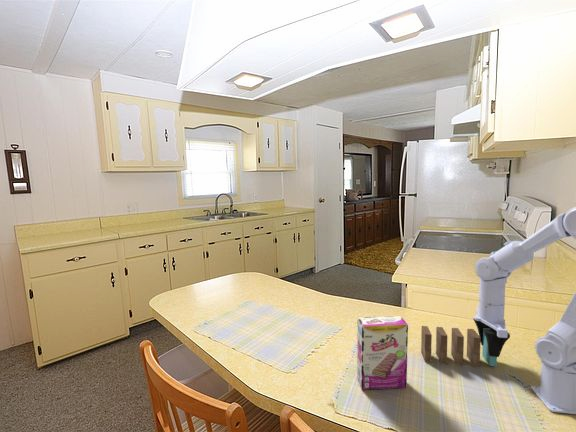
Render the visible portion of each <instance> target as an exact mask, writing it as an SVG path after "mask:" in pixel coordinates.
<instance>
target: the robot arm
mask: <svg viewBox="0 0 576 432" xmlns="http://www.w3.org/2000/svg"><path fill="white" fill-rule="evenodd" d="M567 237H568V238H569V237H572V238H573V239H575V240H576V206H575V207H572V208H570V209H569V210H568V211H567V212H563V213H561V214H559V215H557V216H556V217H555V218H554V219H552V221H550V222H548V223H547V224H546V225H545V224H544V226H543V227H541V228H540V229H538V230H537V231H536V232H534V233H533V234H531V235H529V236H528V237H527V238H525V239H524V240H523V241H520V240H509V241H506V242H504V243H503V245H504V246H503V247H501V248H500V249H498V250H497V251H492V252H490V253H489V254H490V256H488V257H480V258H479V259H477V261H476V262H475V264H474V271H475V273H476V275H477V277H478V278H479V285H478V286H479V288H478V289H479V290H478V291H479V292H478V306H476V314H475V315H473V321H474V324H475V326H476V328H477V330H478V331H477V333H478V335H479V336H480V338H481V342H480V346H483V332H484V334H485V336H486V339H487V344H488V352H489V355H490V356H492V357H497V358H499V357H500V355H501V352H502V350H503V347H504V345H505V344H506V342H508V340H509V339H510V337H511V334H510V332H509V331H508V329H507V327H506V320H505V303H506V302H505V301H506V284H507V281H508V278H509V277H510V276H511V275H512V273H513V272H514V271H515V270H518V269H519V268H521V267H523V266H525V265H526V264H529V263H530V262H532V261H533V260H534V253H536V252H538V251H540V250H542V249H544V248H546V247H548V246H550V245H552V244H554V243H556V242H558V241H559V240H562V239H564V238H567ZM483 328H490V329H483ZM534 348H535V352H536V354H537V357H538V358H539V359H540V363H541V367H540V368H541V369H540V383H539V384H540V385H539V386H535V385H532V386H530V389H531V390H532V391H533V393H535V395H536V397H538V399H540V401H541V402H542V403H543V404H544V405H545V407H547V409H548V410H549V411H550V412H552V413H553V412H554V413H563V414H571V415H576V291H575V292H574V293H573V295H572V297H571V298H570V301H569V302H568V305H567V307H566V308H565V311H564V312H563V313H562V315H561V317H560V319H559V321H558V322H557V323H555V324H554V325H552V326H551V327H550V328H549V329H548V331H547V333H546V334H545V335H544V336H541V337H539V338H538V339H536V341H535V344H534Z"/></svg>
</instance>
